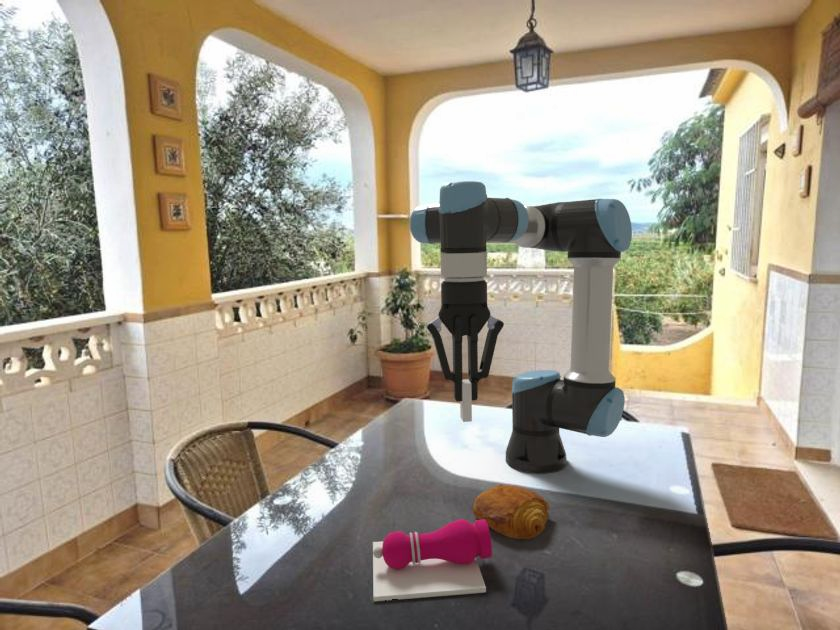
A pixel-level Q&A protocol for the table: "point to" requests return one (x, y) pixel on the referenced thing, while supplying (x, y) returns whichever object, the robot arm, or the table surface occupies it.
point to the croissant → (512, 511)
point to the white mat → (425, 579)
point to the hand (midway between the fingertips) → (466, 418)
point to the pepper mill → (438, 545)
